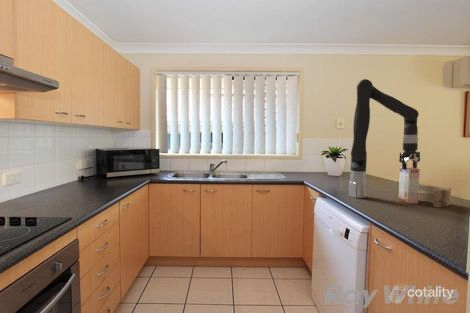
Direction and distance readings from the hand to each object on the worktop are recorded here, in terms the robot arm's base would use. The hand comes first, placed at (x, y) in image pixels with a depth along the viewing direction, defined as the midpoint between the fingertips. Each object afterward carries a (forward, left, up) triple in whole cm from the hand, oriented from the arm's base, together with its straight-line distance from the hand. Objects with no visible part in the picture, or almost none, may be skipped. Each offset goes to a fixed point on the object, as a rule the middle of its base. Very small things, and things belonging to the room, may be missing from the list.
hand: (409, 169), depth 166 cm
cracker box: (0, 0, -20) cm, 20 cm away
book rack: (+7, -6, -20) cm, 22 cm away
